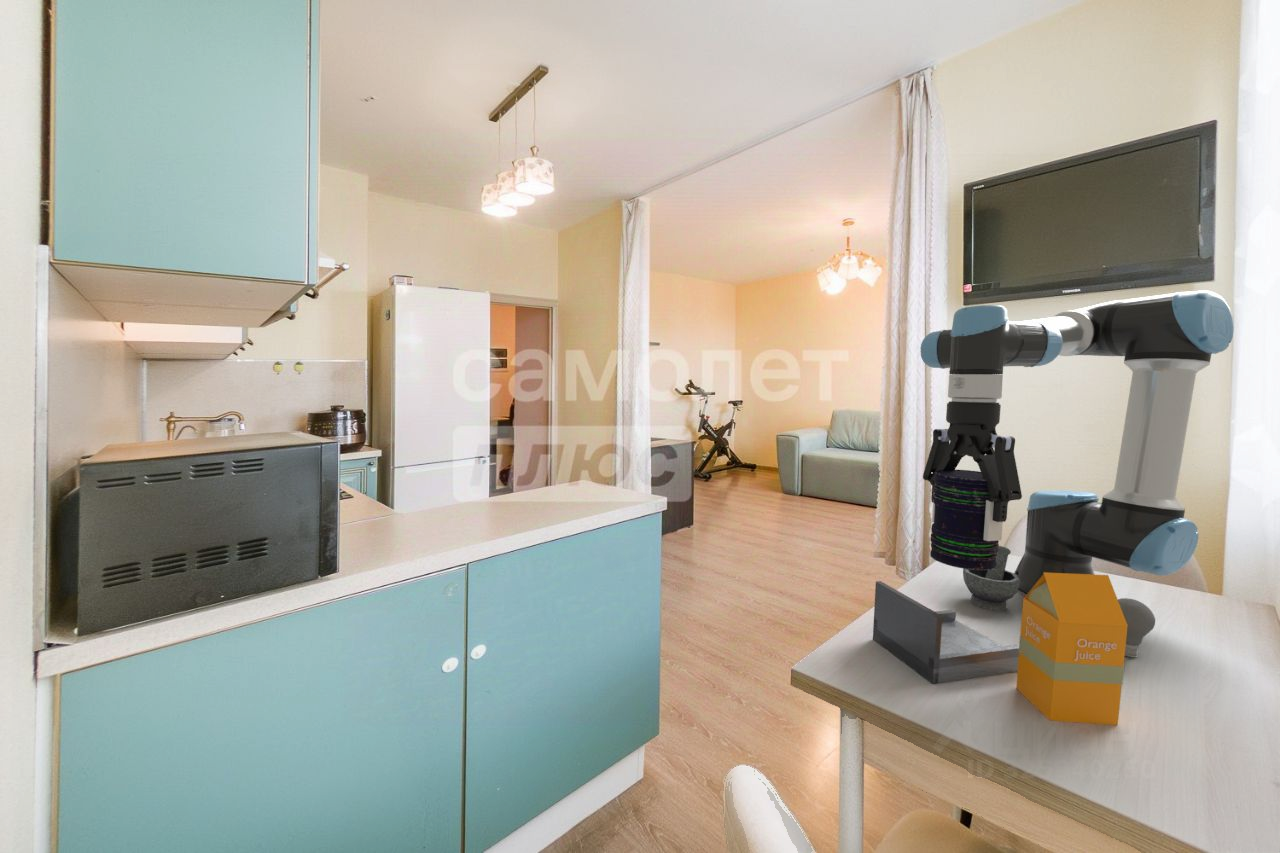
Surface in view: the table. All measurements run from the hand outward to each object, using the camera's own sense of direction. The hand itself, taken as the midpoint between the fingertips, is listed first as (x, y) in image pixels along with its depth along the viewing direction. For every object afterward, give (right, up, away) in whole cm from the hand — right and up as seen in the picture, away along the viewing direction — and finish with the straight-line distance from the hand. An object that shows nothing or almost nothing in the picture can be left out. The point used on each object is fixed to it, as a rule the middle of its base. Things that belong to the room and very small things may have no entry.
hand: (964, 530), depth 86 cm
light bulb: (+29, -22, +1) cm, 37 cm away
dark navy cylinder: (0, -5, +1) cm, 5 cm away
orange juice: (+7, -23, -12) cm, 27 cm away
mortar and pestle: (+20, -20, +22) cm, 36 cm away
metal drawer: (-3, -22, +1) cm, 22 cm away
